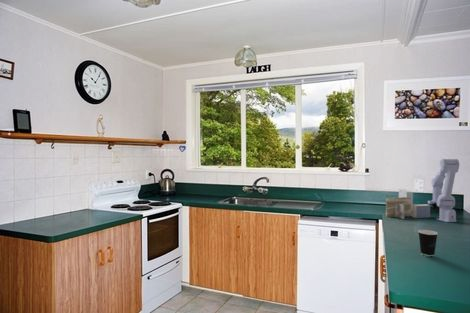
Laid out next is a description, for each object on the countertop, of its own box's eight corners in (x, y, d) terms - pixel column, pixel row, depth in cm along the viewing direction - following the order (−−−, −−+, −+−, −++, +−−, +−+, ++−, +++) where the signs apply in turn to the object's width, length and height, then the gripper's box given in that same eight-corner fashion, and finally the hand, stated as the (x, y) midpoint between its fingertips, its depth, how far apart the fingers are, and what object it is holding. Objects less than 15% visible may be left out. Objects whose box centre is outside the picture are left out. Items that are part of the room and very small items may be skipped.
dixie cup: (419, 251, 149) (420, 228, 149) (439, 255, 143) (439, 231, 143) (415, 255, 143) (415, 231, 143) (435, 259, 138) (436, 235, 137)
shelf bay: (418, 218, 226) (418, 199, 226) (394, 219, 222) (394, 199, 222) (409, 215, 235) (409, 197, 235) (385, 216, 232) (385, 197, 231)
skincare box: (413, 211, 253) (413, 192, 253) (406, 211, 254) (406, 191, 254) (404, 207, 274) (404, 189, 274) (397, 206, 275) (398, 188, 275)
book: (430, 217, 229) (430, 205, 229) (416, 218, 227) (416, 205, 227) (425, 216, 234) (425, 204, 234) (411, 216, 231) (411, 204, 231)
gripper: (440, 194, 238) (440, 211, 238) (424, 194, 236) (424, 212, 236) (448, 195, 231) (448, 213, 232) (432, 195, 229) (431, 214, 229)
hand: (436, 212), depth 233 cm, fingers closed
